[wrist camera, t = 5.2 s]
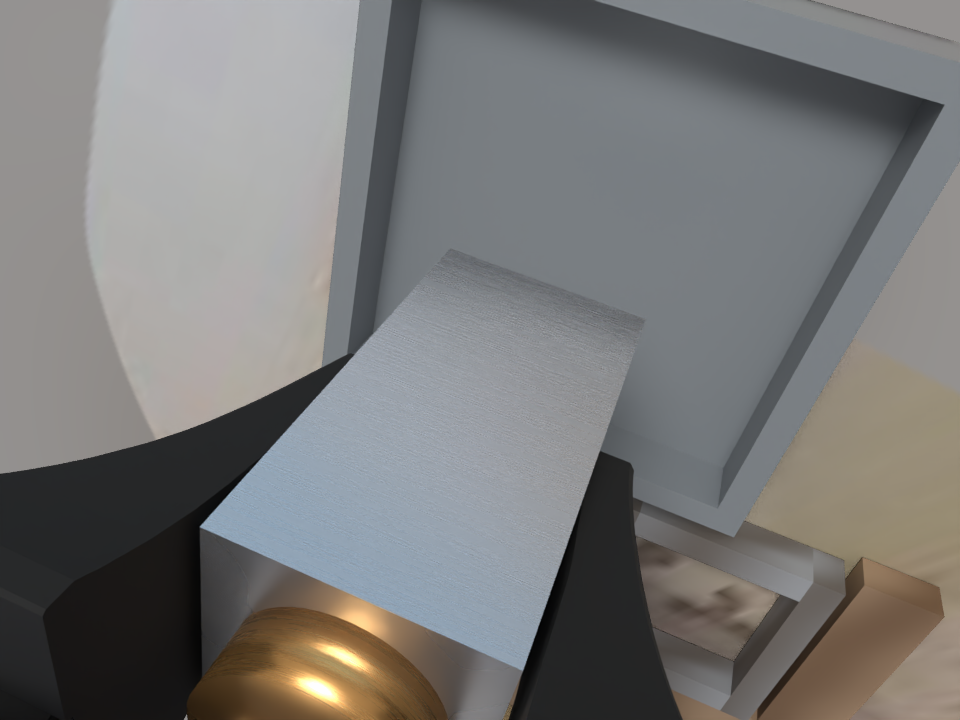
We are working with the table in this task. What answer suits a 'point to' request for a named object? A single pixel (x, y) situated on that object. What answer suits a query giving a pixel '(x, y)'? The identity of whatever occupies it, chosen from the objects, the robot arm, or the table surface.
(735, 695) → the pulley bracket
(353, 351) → the tray
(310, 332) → the table surface
